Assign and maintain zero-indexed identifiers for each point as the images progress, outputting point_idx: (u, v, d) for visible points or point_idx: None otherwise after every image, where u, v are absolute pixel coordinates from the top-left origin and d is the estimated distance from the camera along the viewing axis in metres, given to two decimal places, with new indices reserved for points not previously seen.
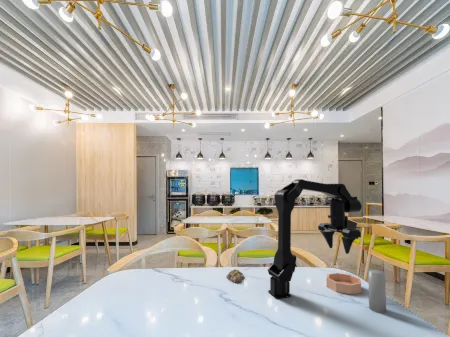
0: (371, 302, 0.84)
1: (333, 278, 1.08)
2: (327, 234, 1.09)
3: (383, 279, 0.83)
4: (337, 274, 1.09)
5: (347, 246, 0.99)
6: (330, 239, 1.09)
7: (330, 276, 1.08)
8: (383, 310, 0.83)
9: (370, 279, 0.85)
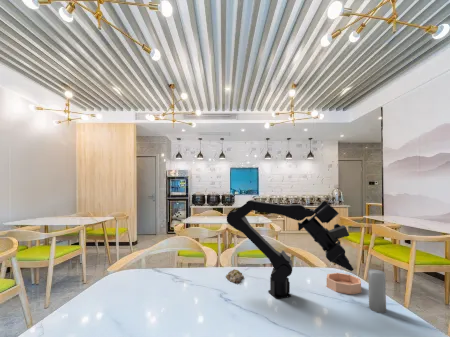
0: (371, 302, 0.84)
1: (333, 278, 1.08)
2: None
3: (383, 279, 0.83)
4: (337, 274, 1.09)
5: (344, 265, 0.84)
6: None
7: (330, 276, 1.08)
8: (383, 310, 0.83)
9: (370, 279, 0.85)
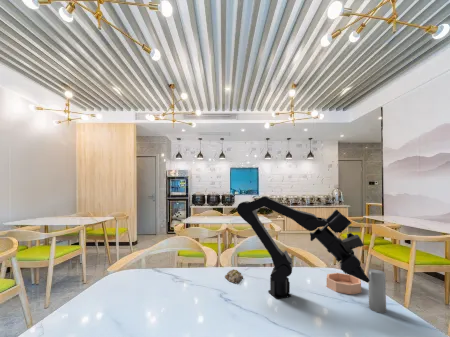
0: (371, 302, 0.84)
1: (333, 278, 1.08)
2: None
3: (383, 279, 0.83)
4: (337, 274, 1.09)
5: (359, 276, 0.82)
6: None
7: (330, 276, 1.08)
8: (383, 310, 0.83)
9: (370, 279, 0.85)
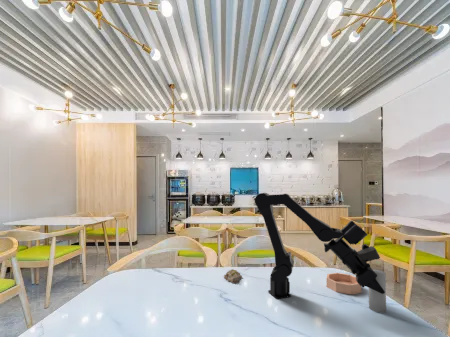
0: (371, 302, 0.84)
1: (333, 278, 1.08)
2: None
3: (383, 279, 0.83)
4: (337, 274, 1.09)
5: (374, 287, 0.82)
6: None
7: (330, 276, 1.08)
8: (383, 310, 0.83)
9: None
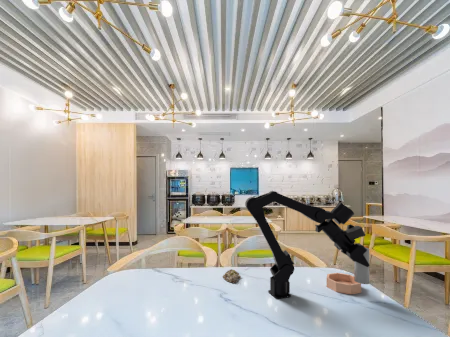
0: (357, 275, 0.93)
1: (333, 278, 1.08)
2: None
3: (368, 254, 0.93)
4: (337, 274, 1.09)
5: (361, 261, 0.91)
6: None
7: (330, 276, 1.08)
8: (367, 281, 0.92)
9: None
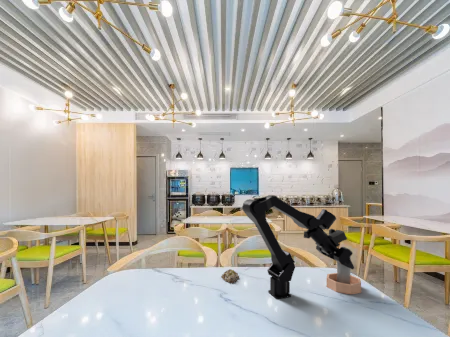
0: (340, 280, 1.01)
1: (333, 278, 1.08)
2: (328, 253, 1.08)
3: None
4: None
5: (348, 265, 0.98)
6: (334, 255, 1.08)
7: (330, 276, 1.08)
8: None
9: None
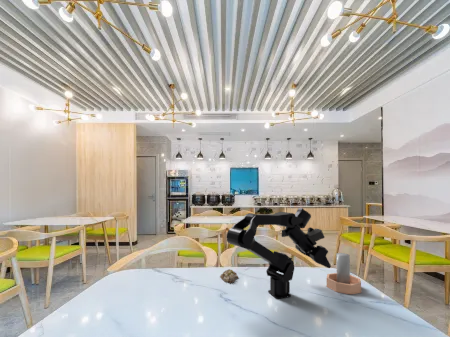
0: (340, 280, 1.01)
1: (333, 278, 1.08)
2: None
3: (349, 260, 1.02)
4: None
5: (324, 263, 0.97)
6: None
7: (330, 276, 1.08)
8: None
9: (339, 261, 1.02)
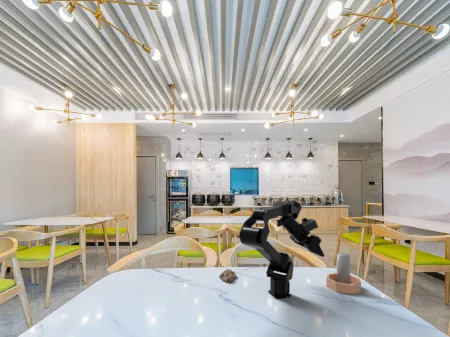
0: (340, 280, 1.01)
1: (333, 278, 1.08)
2: (301, 242, 1.09)
3: (349, 260, 1.02)
4: None
5: (318, 252, 0.98)
6: None
7: (330, 276, 1.08)
8: None
9: (340, 261, 1.02)
